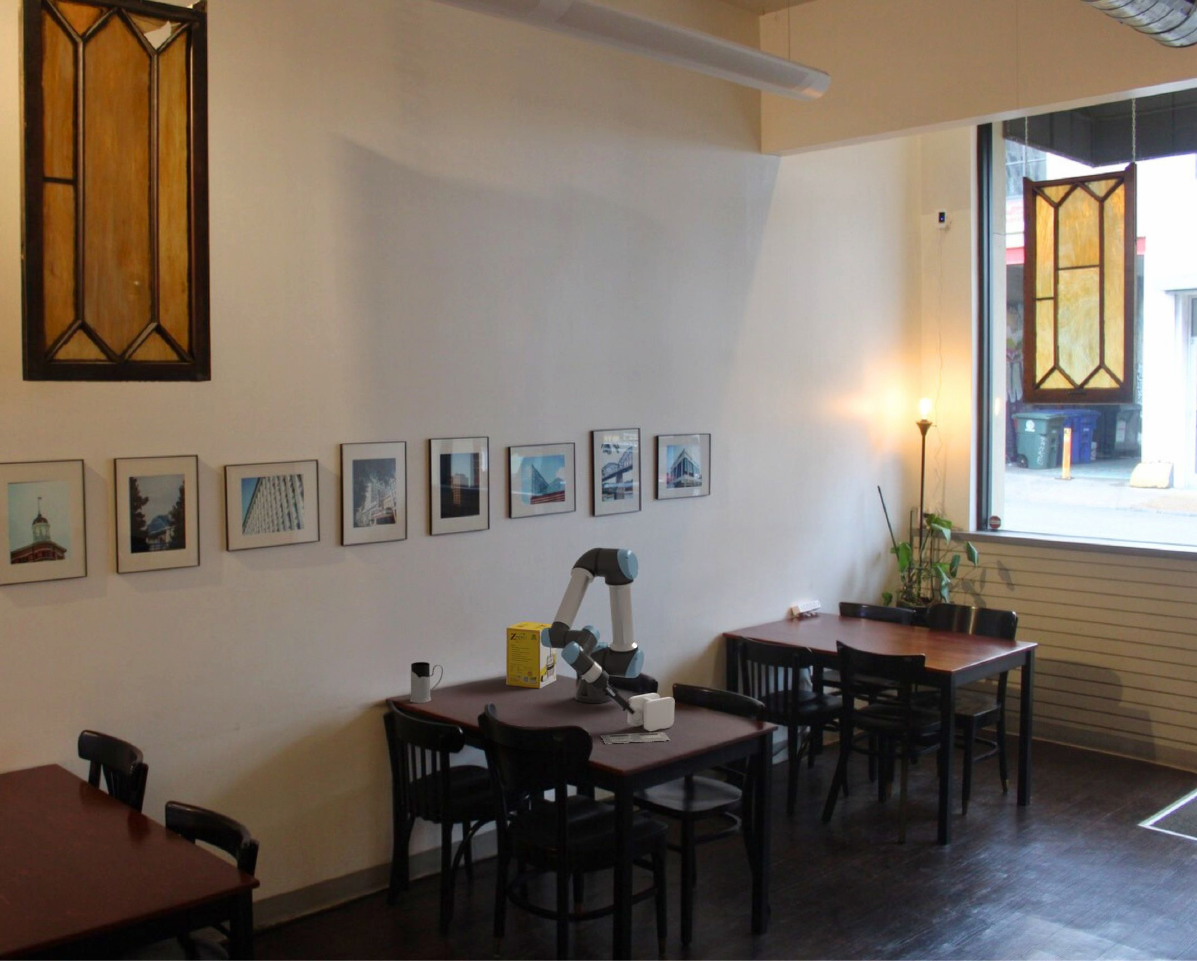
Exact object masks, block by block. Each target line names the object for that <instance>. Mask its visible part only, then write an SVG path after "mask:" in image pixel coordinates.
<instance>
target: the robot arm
mask: <svg viewBox="0 0 1197 961" xmlns="http://www.w3.org/2000/svg"><path fill="white" fill-rule="evenodd" d="M638 561H639V560H638V558H637V555H636V553H635V552H634V551H633V550H630V549H624V548H609V547H595V548H591V549H589V550H588V551H585V552H584V553H583V554H582V555H581V556H580V557H578V559H577V560H576V561H575V563H574V565H573V566H572V568H571V570H570V576H571V577H570V580H569V583H568V585H567V587H566V590H565V592H564V594H563V597H562V599H561V601H560V605H559V607H558V609H557V612H556V614H555V616H554V619H553V622H552V623H551V624H552V625H551V627H548V628H544V629H543V630H542V632H541V643H542V645H543V646H544V647H549V648H556V649H562V650H561V653H560V655H561V658H562V659H563V660H564V661H565V662H566V664H567V665H569V666H570V667H571V668H572V669H573V670H575V672H577V674H579V681H578V685H577V688H576V691H575V694H574V695H575V696H574V697H575V700H576V701H577V700H578V702H581V703H585V702H586V703H587V704H601V703H603V704H604V703H607V702H610V701H611V700H614V701H615V702H616V703H617V704H618V705H619V706H621V708H623V709H622V711H623V712H625V711H626V713H627V714H628V713H629V714H630V715H631V716H632V717H633V718H634V719H635V720H636V721H638V720H639V719H640V718H641V717H642V716H641V714H640V713H638V712H637V711H636V710H635V709H634V708H633V707H632V706H631V705H630V704H629V702H628V700H626V699H625V698H624V697H623V695H621V694H620V693H619V691H618V690H617V688H615V687H614V685H613V683H611V682H609V679H610V677H619V678H626V679H629V678H630V679H631V678H632V679H634V678H635V679H636V678H637V677H638V676H639V675H640V674H641V672H642V668H643V666H644V660H645V653H644V651H643V650H642V649H639V644H638V642H637V641H635V638H634V636H635V635H634V624H633V608H632V607H633V606H632V593H631V591H632V590H631V585H632V584H633V583H634V579H636V578H637V576H638V574H639V562H638ZM597 577H600V578H604V584H605V585H606V586H607V587H608V591H609V605H610V606H609V607H610V608H609V609H610V620H611V632H612V633H611V634H612V641H611V643H610V644H609V643H608V642H605V641H599V640H600V637H601V633H600V630H599V629H598V628H596V627H595V626H593V625H591V624H590V625H589V624H588V625H585V626H583V628H582V629H580V630H578V629H572V626H574V623H575V620H576V617H577V615H578V612H579V610H580V608H581V605H582V602H583V600H584V598H585V595H586V594H587V590H588V588H589V586H590V584H592V583H593V582H594V579H595V578H597ZM586 703H585V704H586Z"/></svg>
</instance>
